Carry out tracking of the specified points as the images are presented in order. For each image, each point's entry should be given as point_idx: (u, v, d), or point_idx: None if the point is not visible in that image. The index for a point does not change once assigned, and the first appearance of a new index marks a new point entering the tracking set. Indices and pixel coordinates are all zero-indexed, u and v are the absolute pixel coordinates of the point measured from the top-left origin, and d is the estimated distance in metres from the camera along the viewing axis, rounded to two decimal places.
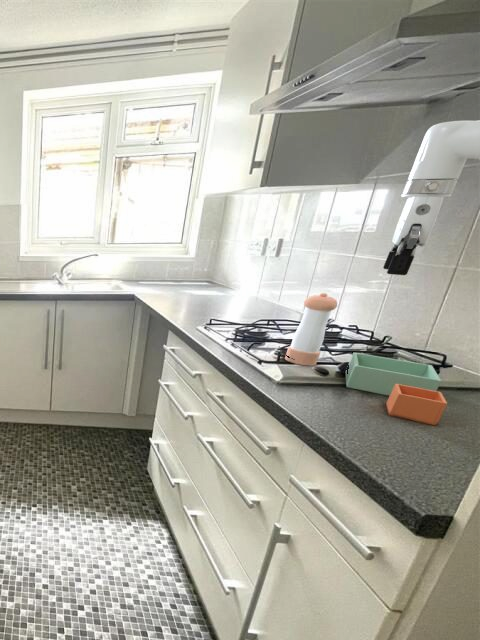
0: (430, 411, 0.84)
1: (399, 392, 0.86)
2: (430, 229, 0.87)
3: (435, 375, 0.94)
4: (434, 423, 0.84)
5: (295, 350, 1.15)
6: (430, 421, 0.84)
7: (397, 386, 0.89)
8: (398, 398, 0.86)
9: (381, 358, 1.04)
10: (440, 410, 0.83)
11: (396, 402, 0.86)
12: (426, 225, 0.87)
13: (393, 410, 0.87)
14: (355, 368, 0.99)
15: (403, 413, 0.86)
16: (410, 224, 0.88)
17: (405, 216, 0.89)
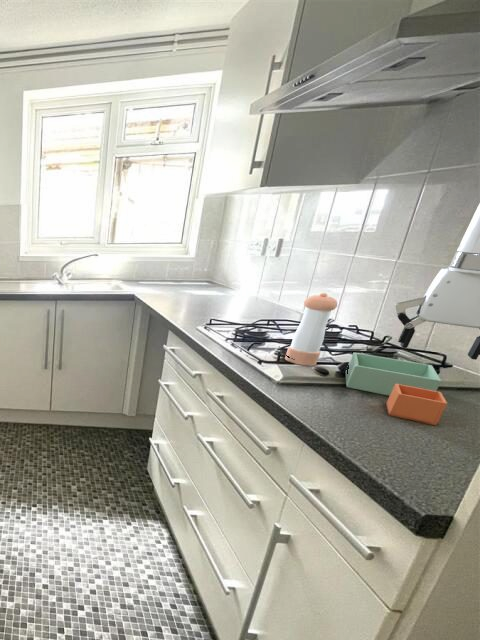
0: (430, 411, 0.84)
1: (399, 392, 0.86)
2: None
3: (435, 375, 0.94)
4: (434, 423, 0.84)
5: (295, 350, 1.15)
6: (430, 421, 0.84)
7: (397, 386, 0.89)
8: (398, 398, 0.86)
9: (381, 358, 1.04)
10: (440, 410, 0.83)
11: (396, 402, 0.86)
12: None
13: (393, 410, 0.87)
14: (355, 368, 0.99)
15: (403, 413, 0.86)
16: None
17: None
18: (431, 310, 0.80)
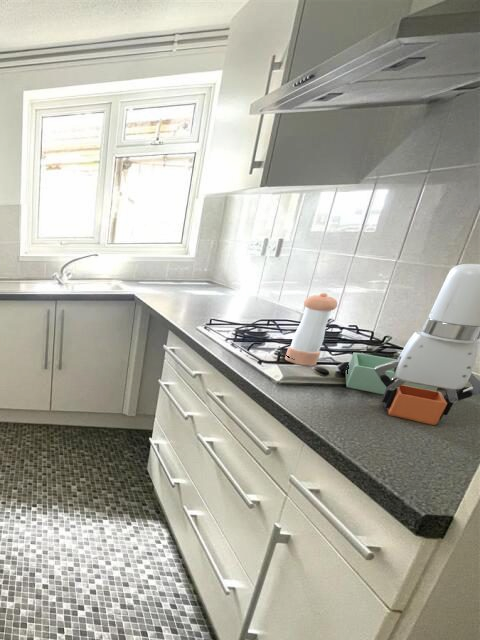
0: (430, 411, 0.84)
1: (399, 392, 0.86)
2: None
3: None
4: (434, 423, 0.84)
5: (295, 350, 1.15)
6: (430, 421, 0.84)
7: None
8: (398, 398, 0.86)
9: (381, 358, 1.04)
10: (440, 410, 0.83)
11: (396, 402, 0.86)
12: None
13: (393, 410, 0.87)
14: (355, 368, 0.99)
15: (403, 413, 0.86)
16: None
17: (469, 363, 0.79)
18: (406, 371, 0.85)
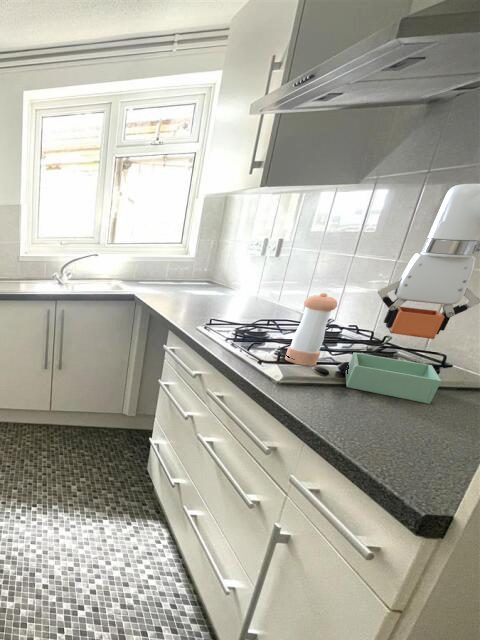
0: (428, 325, 0.91)
1: (400, 310, 0.93)
2: None
3: (435, 375, 0.94)
4: (432, 337, 0.91)
5: (295, 350, 1.15)
6: (428, 335, 0.91)
7: (398, 307, 0.96)
8: (399, 316, 0.93)
9: (381, 358, 1.04)
10: (438, 324, 0.90)
11: (397, 320, 0.93)
12: None
13: (394, 328, 0.94)
14: (355, 368, 0.99)
15: (404, 330, 0.93)
16: (467, 284, 0.87)
17: (465, 277, 0.86)
18: (406, 290, 0.92)
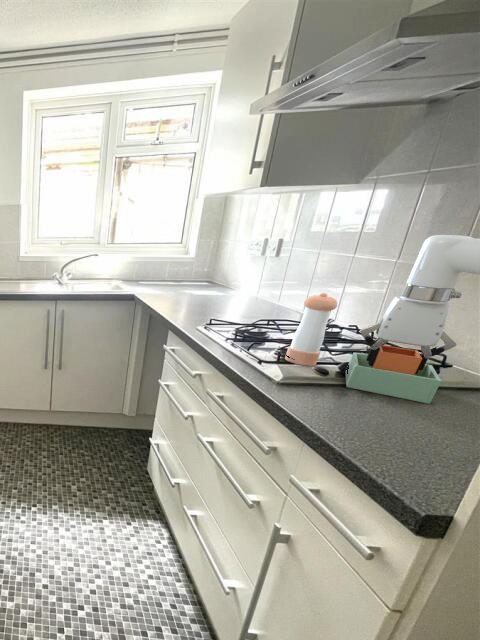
0: (407, 366, 0.95)
1: (381, 350, 0.98)
2: None
3: (435, 375, 0.94)
4: None
5: (295, 350, 1.15)
6: None
7: (380, 346, 1.01)
8: (380, 355, 0.98)
9: None
10: (416, 365, 0.94)
11: (378, 359, 0.98)
12: None
13: (375, 366, 0.99)
14: (355, 368, 0.99)
15: (384, 369, 0.98)
16: (443, 328, 0.92)
17: (441, 322, 0.91)
18: (387, 331, 0.97)
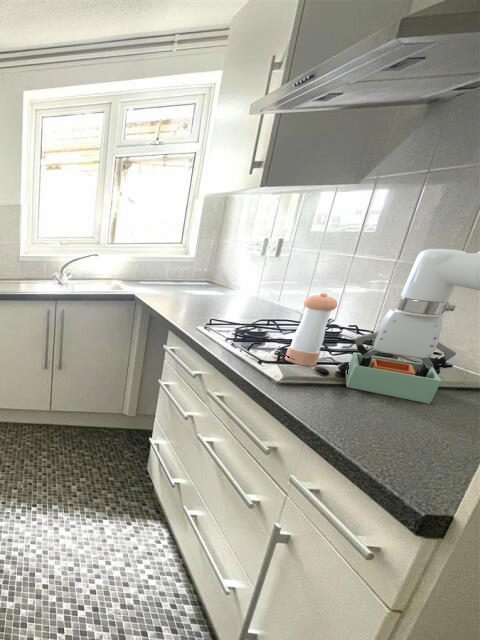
0: None
1: (375, 365, 0.99)
2: None
3: (435, 375, 0.94)
4: None
5: (295, 350, 1.15)
6: None
7: (374, 360, 1.02)
8: None
9: (381, 358, 1.04)
10: None
11: None
12: None
13: None
14: (355, 368, 0.99)
15: None
16: (438, 341, 0.93)
17: (435, 334, 0.92)
18: (382, 343, 0.98)
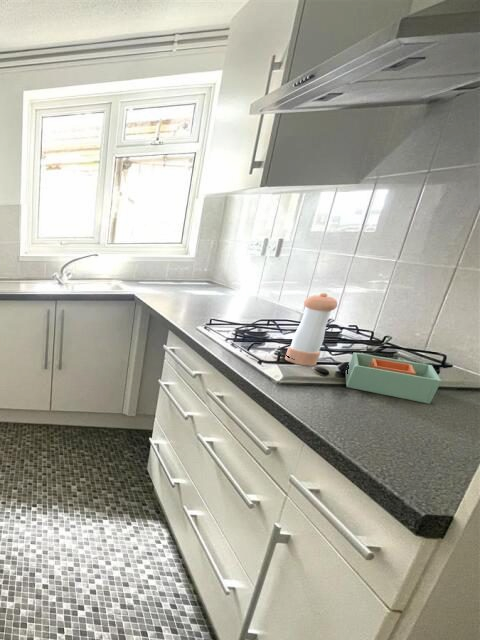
0: None
1: (375, 365, 0.99)
2: None
3: (435, 375, 0.94)
4: None
5: (295, 350, 1.15)
6: None
7: (374, 360, 1.02)
8: None
9: (381, 358, 1.04)
10: None
11: None
12: None
13: None
14: (355, 368, 0.99)
15: None
16: None
17: None
18: None
